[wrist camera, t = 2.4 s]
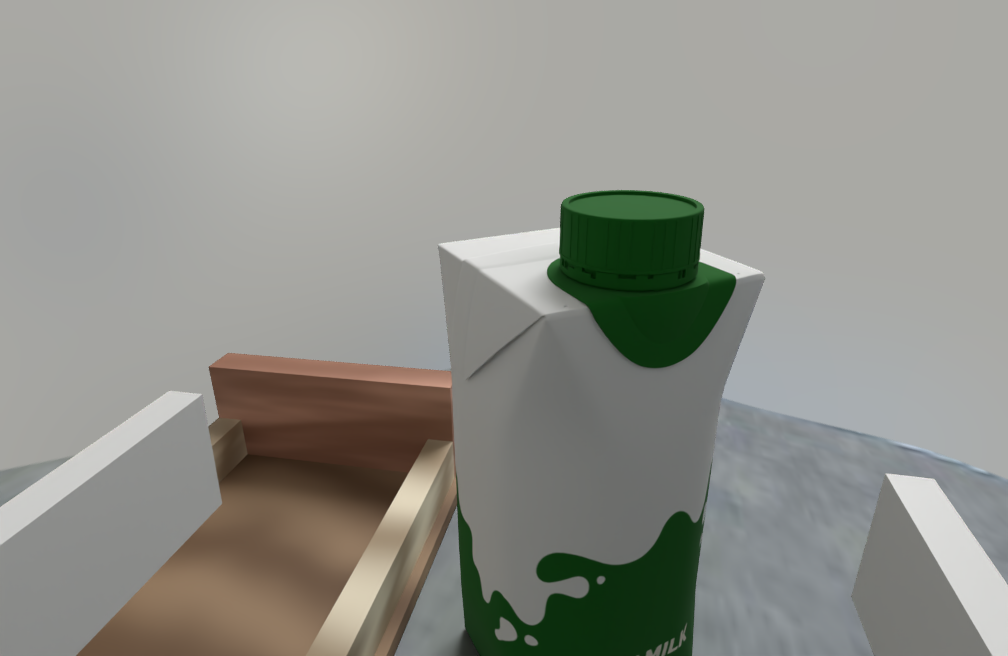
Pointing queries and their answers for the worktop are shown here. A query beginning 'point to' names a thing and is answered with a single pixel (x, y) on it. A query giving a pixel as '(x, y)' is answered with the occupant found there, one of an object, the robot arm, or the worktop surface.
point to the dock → (305, 516)
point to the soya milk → (589, 422)
